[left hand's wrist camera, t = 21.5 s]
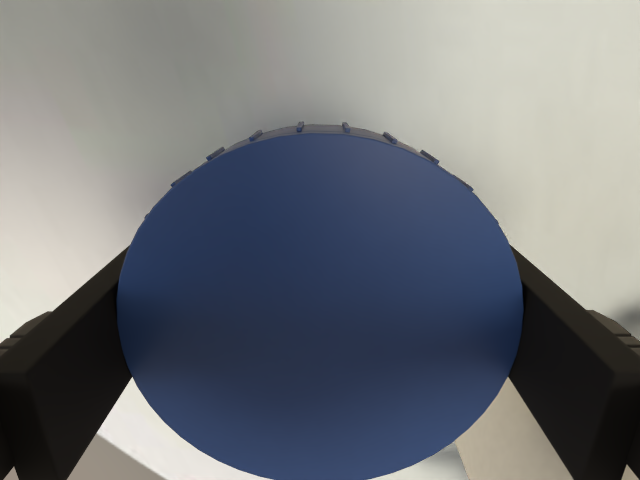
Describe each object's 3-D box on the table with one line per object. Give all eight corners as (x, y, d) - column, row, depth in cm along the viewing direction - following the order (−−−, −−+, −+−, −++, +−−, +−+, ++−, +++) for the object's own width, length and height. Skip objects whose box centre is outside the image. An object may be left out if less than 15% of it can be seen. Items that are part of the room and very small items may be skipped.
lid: (223, 462, 14) (209, 516, 13) (78, 188, 11) (30, 208, 9) (517, 394, 13) (548, 442, 11) (460, 65, 10) (492, 61, 8)
